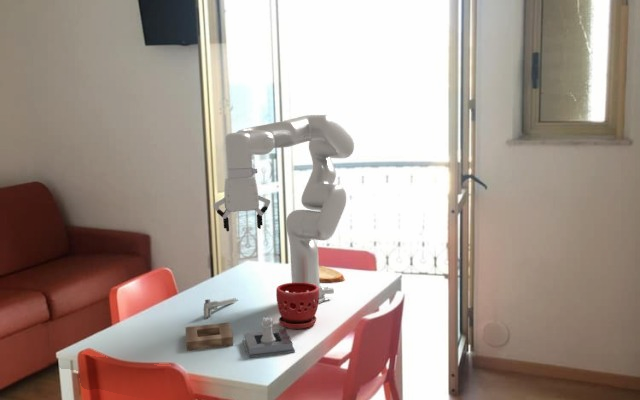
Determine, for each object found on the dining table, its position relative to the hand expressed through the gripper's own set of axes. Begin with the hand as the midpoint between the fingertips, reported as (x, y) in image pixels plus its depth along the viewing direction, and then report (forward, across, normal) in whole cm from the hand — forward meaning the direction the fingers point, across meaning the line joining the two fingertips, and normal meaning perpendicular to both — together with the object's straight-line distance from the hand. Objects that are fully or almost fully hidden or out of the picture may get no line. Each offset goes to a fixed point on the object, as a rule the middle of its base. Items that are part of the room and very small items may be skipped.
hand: (243, 229), depth 208 cm
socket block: (+30, +13, +10) cm, 34 cm away
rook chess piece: (+30, -3, +21) cm, 37 cm away
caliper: (+31, +7, -18) cm, 37 cm away
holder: (+30, -3, +21) cm, 37 cm away
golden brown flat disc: (+31, -34, -46) cm, 65 cm away
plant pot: (+31, -15, +5) cm, 34 cm away
